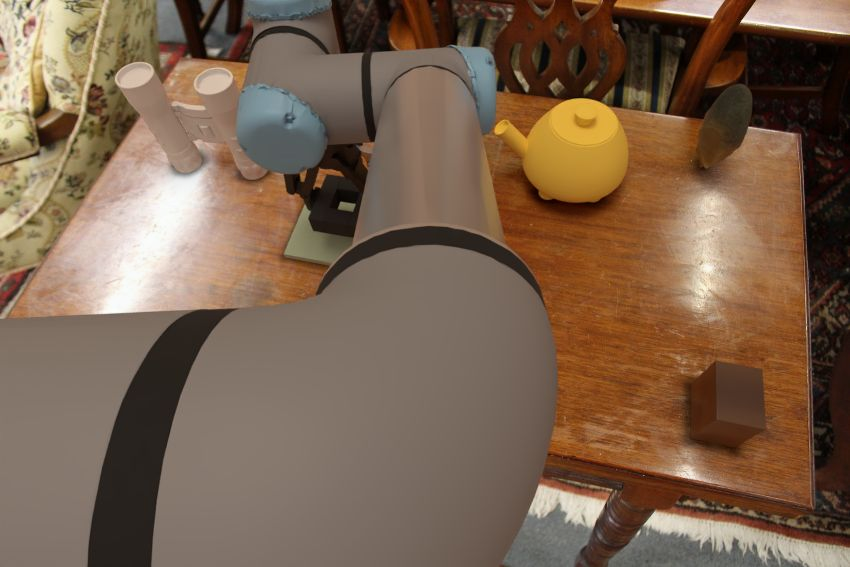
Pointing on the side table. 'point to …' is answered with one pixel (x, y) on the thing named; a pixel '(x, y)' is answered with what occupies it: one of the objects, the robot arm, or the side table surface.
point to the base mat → (316, 241)
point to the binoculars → (188, 115)
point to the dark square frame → (336, 207)
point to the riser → (727, 404)
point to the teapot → (572, 151)
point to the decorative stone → (724, 125)
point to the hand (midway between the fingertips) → (352, 226)
